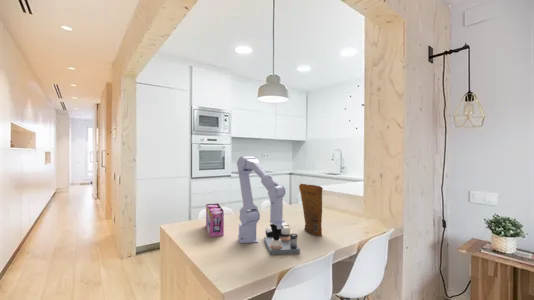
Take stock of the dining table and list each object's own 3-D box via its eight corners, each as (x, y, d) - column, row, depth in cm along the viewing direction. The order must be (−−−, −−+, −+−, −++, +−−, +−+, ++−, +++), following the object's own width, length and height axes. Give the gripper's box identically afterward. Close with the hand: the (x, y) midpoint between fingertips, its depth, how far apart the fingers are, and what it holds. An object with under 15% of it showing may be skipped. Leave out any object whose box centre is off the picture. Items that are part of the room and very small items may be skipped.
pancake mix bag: (317, 238, 142) (317, 186, 142) (297, 228, 159) (298, 182, 159) (326, 236, 145) (327, 186, 145) (306, 227, 162) (307, 182, 162)
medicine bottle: (290, 237, 141) (269, 242, 137) (285, 233, 147) (265, 237, 144) (289, 224, 140) (268, 228, 137) (284, 221, 147) (264, 225, 143)
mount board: (270, 254, 119) (270, 249, 119) (264, 241, 137) (264, 236, 137) (299, 253, 121) (299, 248, 121) (290, 240, 139) (290, 235, 139)
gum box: (224, 236, 143) (224, 211, 143) (209, 238, 141) (210, 212, 140) (218, 224, 166) (218, 203, 166) (205, 225, 163) (205, 203, 163)
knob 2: (282, 234, 132) (282, 228, 132) (280, 232, 136) (280, 226, 136) (290, 234, 133) (290, 228, 133) (288, 231, 137) (288, 226, 137)
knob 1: (272, 248, 121) (272, 241, 121) (270, 244, 125) (270, 238, 125) (281, 247, 122) (281, 241, 122) (279, 244, 126) (279, 238, 126)
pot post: (290, 249, 121) (290, 236, 121) (288, 246, 124) (289, 233, 124) (298, 248, 121) (298, 235, 121) (296, 246, 125) (296, 233, 125)
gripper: (288, 214, 117) (288, 245, 117) (281, 207, 131) (281, 234, 131) (272, 215, 116) (272, 245, 116) (267, 208, 130) (267, 235, 130)
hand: (276, 240), depth 124 cm, fingers closed, pressing on knob 1
